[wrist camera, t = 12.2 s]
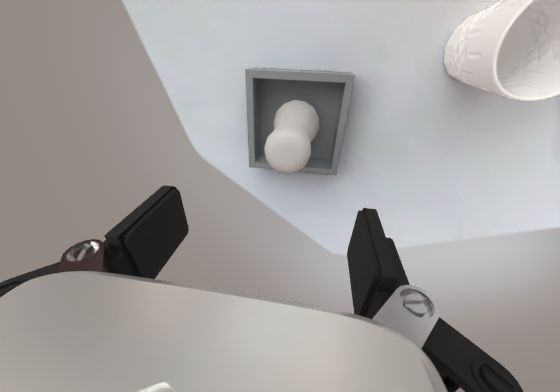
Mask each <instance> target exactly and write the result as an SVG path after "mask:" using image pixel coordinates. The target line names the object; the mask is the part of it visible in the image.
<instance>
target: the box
mask: <svg viewBox="0 0 560 392" xmlns="http://www.w3.org/2000/svg"><path fill="white" fill-rule="evenodd" d="M245 71H246V96H247V121H248V147H249V167H253V168H264V169H274V168H272V167H271V166H270V164H269V163H268V161H267V160H266V157H265V150H264V148H265V144H266V140H267V137H268V136H269V135H270V134H271V133H272V132H273V131H274V118H275V115H276V112H277V111H278V109H279V108H280V107H281V106H282V105H283V104H284V103H287V102H290V101H293V100H299V101H305V102H307V103H308V104H310V105H311V106H312V107H314V109H315V111H316V113H317V115H318V117H319V130H318V132H317V134H316V137H315V138H314V139H313V140H312V141H311V143H310V144H311V155H310V157H309V160H308V162H307V164H306V165H305V166H304V167H303V168H302V169H300V170H299V171H297V172H305V173H316V174H326V175H336V174H337V168H338V163H339V157H340V152H341V147H342V141H343V136H344V130H345V125H346V120H347V114H348V109H349V103H350V98H351V93H352V87H353V82H354V76H355V75H354V74H352V73H351V72H331V71H311V70H290V69H270V68H250V69H245ZM274 170H275V169H274Z"/></svg>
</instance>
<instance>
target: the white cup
mask: <svg viewBox="0 0 560 392" xmlns="http://www.w3.org/2000/svg"><path fill="white" fill-rule="evenodd" d="M443 62H444V65H445V68H446V70H447V73H448V74H449V75H450V76H452V77H453V78H455V79H456V80H458V81H460V82H464V83H466V84H468V85H470V86H473V87H476V88H479V89H482V90H485V91H488V92H491V93H495V94H498V95H501V96H504V97H508V98H511V99H514V100H518V101H525V102H533V101H541V100H545V99H549V98H553V97H555V96H558V95H560V0H503V1H500V2H498V3H495V4H493V5H492V6H490V7H487V8H485V9H483V10H481V11H479V12H476V13H474V14H472V15H470V16H469V17H467V18H466V19H465V20H464V21H463V22H462V23H461V24H460V25H459V26H458V27H457V28H456V29H455V30H454V32H453V33H452V35H451V37H450V39H449V41H448V43H447V44H446V46H445V53H444V61H443Z"/></svg>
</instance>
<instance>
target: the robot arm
mask: <svg viewBox="0 0 560 392" xmlns="http://www.w3.org/2000/svg"><path fill="white" fill-rule="evenodd" d="M187 234H188V224H187V220H186V216H185V212H184V208H183V204H182V199H181V195H180V192H179V190H177V188H176V187H174V186H162V187H161V188H160V189H159V190H157V191H156V192H155V193H154V194H153V195H151V196H150V197H149V198H148V199H147V200H146V201H144V202H143V203H142V204H141V205H140V206H139V207H137V208H136V209H135V210H134V211H133V212H132V213H130V214H129V215H128V216H127V217H126V218H124V219H123V220H122V221H121V222H120V223H119V224H117V225H116V226H115V227H114V228H113V229H112V230H110V231H109V232H108V233H107V234H106V235H105V238H106V240H105V241H104V242H102V241H101V240H97V239H90V240H85V241H82V242H79V243H77V244H75V245H73V246H71V247H70V248H69V249H67V250H66V251H65V252H64V253H63V255H62V257H61V260H60V262H58V263H55V264H52V265H49V266H46V267H43V268H40V269H37V270H34V271H31V272H28V273H25V274H22V275H20V276H17V277H14V278H11V279H8V280H6V281H3V282H1V283H0V392H523V390H522V388H521V387H520V385H519V383H518V382H517V380H516V379H515V378H514V377H513V376H512V374H511V373H510V372H509V371H508V370H507V369H505V368H504V367H503V366H502V365H501V364H500V363H498V362H497V361H496V360H494V359H493V358H492V357H491V356H489V355H488V354H487V353H485V352H484V351H483V350H481V349H480V348H479V347H477V346H476V345H475V344H474V343H472V342H471V341H470V340H468V339H467V338H466V337H464V336H463V335H462V334H460V333H459V332H458V331H457V330H455V329H454V328H453V327H451V326H450V325H449V324H447V323H446V322H445V321H444V320H442V319H441V318H440V317H439V315H440V310H439V306H438V305H437V303H436V301H435V300H434V299H433V298H432V297H431V295H429V294H428V293H427V292H425V291H424V290H422V289H420V288H418V287H415V286H412V285H409V282H408V279H407V277H406V274H405V271H404V269H403V266H402V263H401V260H400V258H399V255H398V253H397V250H396V247H395V244H394V242H393V240H392V239H391V238H386V237H385V234H384V231H383V228H382V225H381V222H380V219H379V216H378V213H377V211H376V209H368V208H363V210H362V211H360V210H359V211H358V214H357V218H356V221H355V225H354V229H353V232H352V236H351V240H350V243H349V247H348V252H347V258H348V265H349V274H350V281H351V290H352V298H353V306H354V314H352V313H348V312H343V311H339V310H334V309H329V308H324V307H318V306H313V305H307V304H302V303H296V302H290V301H284V300H278V299H272V298H266V297H261V296H254V295H248V294H243V293H236V292H230V291H224V290H218V289H211V288H205V287H199V286H193V285H187V284H181V283H175V282H167V281H162V280H155V278H156V276H157V275H158V274H159V272H160V271H161V269H162V268H163V266H164V265H165V264H166V263H167V261H168V260H169V258H170V257H171V256H172V254H173V253H174V252H175V250H176V249H177V248H178V246H179V245H180V243H181V242H182V241H183V239H184V238H185V236H186V235H187Z"/></svg>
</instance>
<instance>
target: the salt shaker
mask: <svg viewBox="0 0 560 392" xmlns="http://www.w3.org/2000/svg"><path fill="white" fill-rule="evenodd" d="M318 130H319V117H318V115H317V113H316V111H315V109H314V107H312V106H311V105H310V104H308V103H307V102H305V101H299V100H293V101H290V102H287V103H284V104H283V105H282V106H281V107H280V108H279V109H278V111H277V112H276V115H275V118H274V131H273V132H272V133H271V134H270V135H269V136H268V137H267V140H266V144H265V148H264V150H265V157H266V160H267V161H268V163H269V164H270V166H271V167H272V168H274V169H275V170H277V171H279V172H282V173H293V172H297V171H299V170H300V169H302V168H303V167H304V166H305V165H306V164H307V162H308V160H309V157H310V155H311V144H310V143H311V141H312V140H313V139H314V138H315V137H316V134H317V132H318Z"/></svg>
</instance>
